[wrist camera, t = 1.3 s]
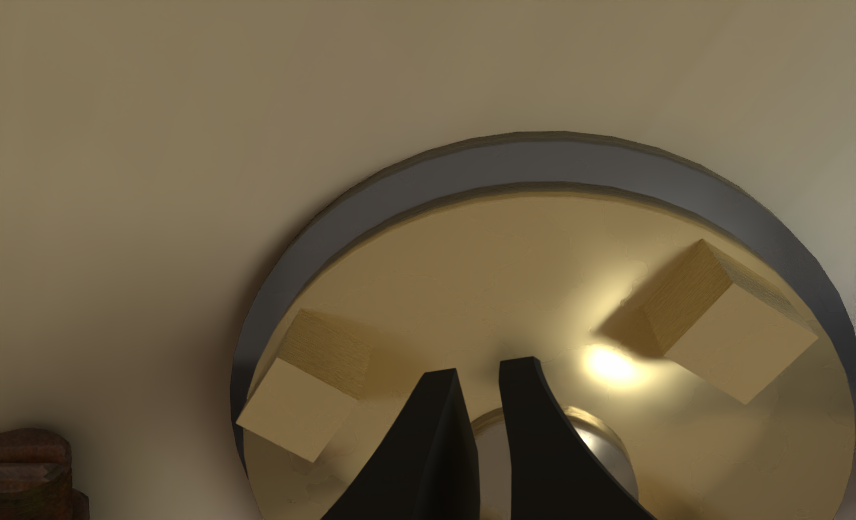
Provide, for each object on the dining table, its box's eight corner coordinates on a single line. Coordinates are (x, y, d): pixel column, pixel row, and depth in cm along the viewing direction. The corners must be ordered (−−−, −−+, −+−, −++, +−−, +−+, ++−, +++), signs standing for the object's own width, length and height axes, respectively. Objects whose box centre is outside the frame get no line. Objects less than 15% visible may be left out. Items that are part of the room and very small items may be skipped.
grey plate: (853, 58, 18) (881, 68, 17) (839, 591, 27) (857, 624, 26) (148, 205, 22) (127, 223, 21) (336, 636, 31) (329, 667, 29)
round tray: (839, 116, 18) (926, 163, 14) (830, 610, 25) (885, 720, 22) (169, 247, 21) (106, 313, 17) (344, 651, 29) (325, 752, 25)
